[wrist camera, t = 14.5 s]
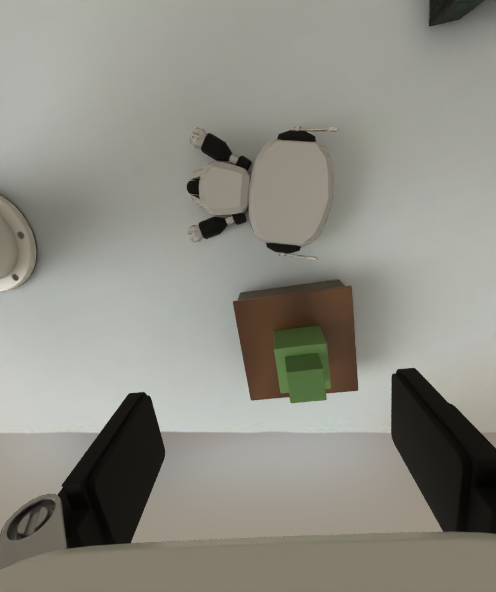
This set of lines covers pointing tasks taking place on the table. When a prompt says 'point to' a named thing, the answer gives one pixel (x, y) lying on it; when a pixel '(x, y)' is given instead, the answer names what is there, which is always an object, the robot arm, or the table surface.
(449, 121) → the table surface
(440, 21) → the ceramic cat
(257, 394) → the walnut plinth
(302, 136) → the robot toy
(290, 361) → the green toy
